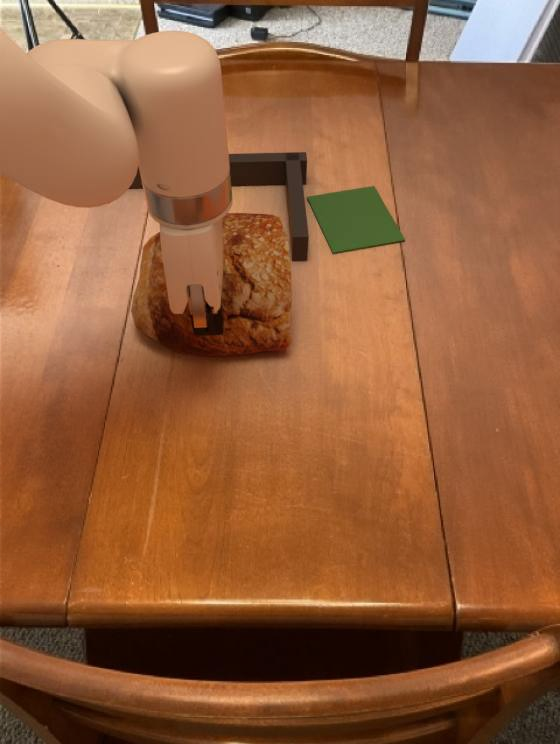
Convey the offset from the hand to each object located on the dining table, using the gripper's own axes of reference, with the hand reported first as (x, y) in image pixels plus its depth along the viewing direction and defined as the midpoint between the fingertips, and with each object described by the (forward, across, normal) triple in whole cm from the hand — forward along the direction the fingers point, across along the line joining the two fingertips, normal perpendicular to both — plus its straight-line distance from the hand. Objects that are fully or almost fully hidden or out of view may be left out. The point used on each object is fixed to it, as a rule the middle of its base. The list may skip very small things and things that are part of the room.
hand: (209, 329), depth 73 cm
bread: (+5, -10, 0) cm, 11 cm away
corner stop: (+5, -25, -1) cm, 25 cm away
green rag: (+6, -24, +18) cm, 31 cm away
